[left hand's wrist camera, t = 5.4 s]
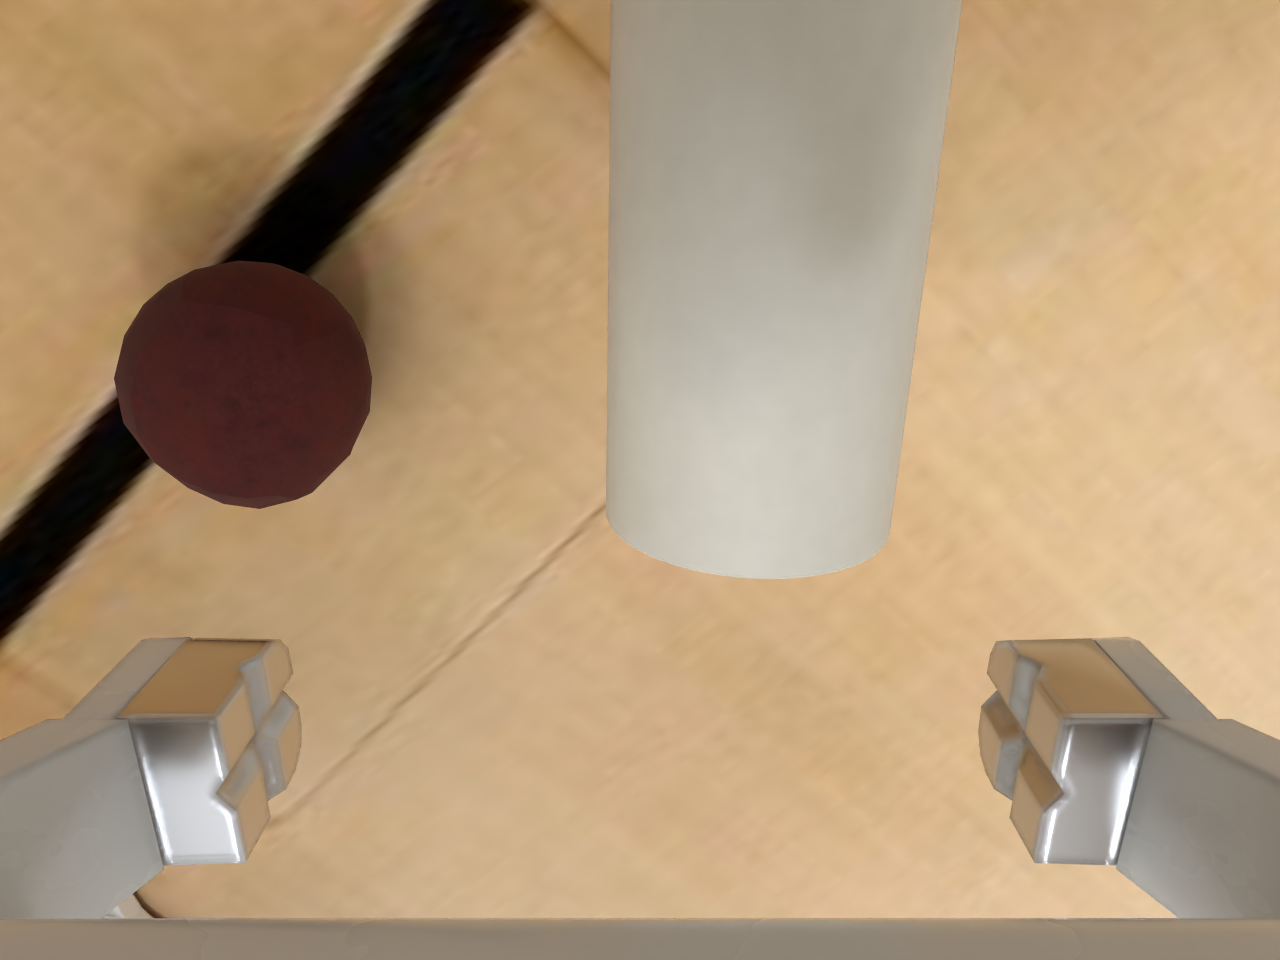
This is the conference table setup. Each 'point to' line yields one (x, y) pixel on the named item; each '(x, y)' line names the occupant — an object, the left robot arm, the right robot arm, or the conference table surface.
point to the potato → (245, 382)
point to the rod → (767, 272)
